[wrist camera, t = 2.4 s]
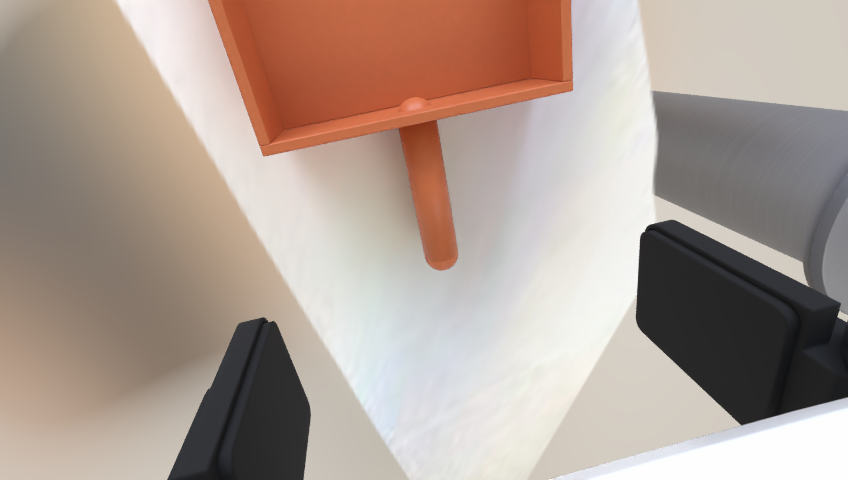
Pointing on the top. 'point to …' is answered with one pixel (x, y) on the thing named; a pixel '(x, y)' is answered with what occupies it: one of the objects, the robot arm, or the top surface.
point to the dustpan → (392, 76)
